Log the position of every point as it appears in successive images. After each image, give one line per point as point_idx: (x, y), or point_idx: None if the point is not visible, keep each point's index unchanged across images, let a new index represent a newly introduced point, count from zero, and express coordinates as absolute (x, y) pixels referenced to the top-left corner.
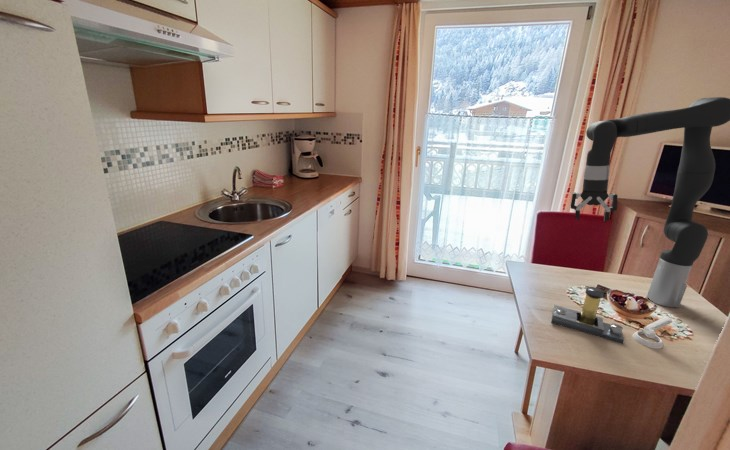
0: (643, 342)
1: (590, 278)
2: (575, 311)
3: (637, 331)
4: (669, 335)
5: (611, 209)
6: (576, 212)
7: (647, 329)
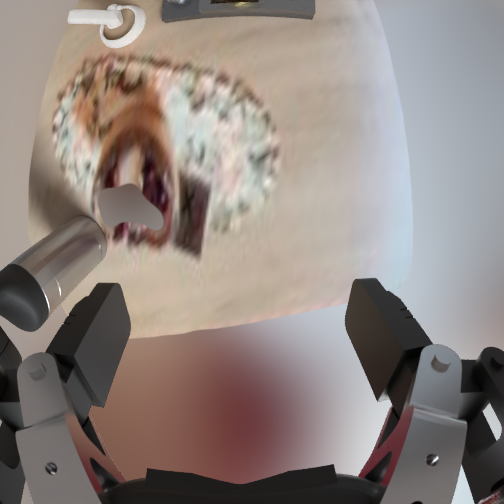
0: (131, 5)
1: (216, 285)
2: (262, 4)
3: (133, 26)
4: (83, 79)
5: (16, 383)
6: (419, 336)
7: (115, 13)
